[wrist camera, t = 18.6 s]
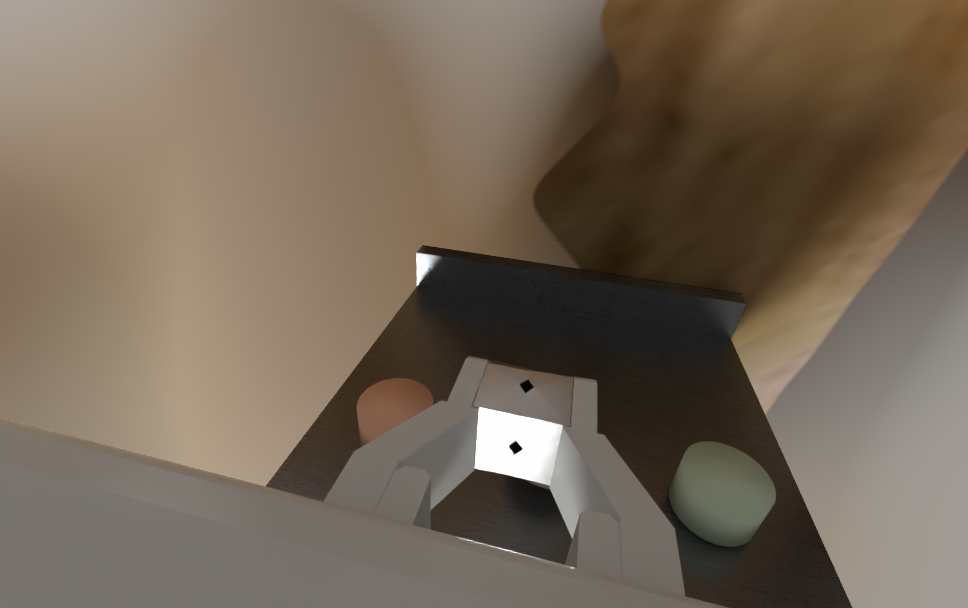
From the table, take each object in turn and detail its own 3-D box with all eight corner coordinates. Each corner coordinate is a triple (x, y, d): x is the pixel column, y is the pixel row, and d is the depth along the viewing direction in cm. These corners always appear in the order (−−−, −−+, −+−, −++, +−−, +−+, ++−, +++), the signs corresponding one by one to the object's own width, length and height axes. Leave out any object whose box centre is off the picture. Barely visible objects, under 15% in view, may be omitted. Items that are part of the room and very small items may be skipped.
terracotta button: (376, 372, 30) (342, 422, 26) (442, 386, 29) (418, 439, 25) (379, 404, 32) (347, 456, 28) (442, 417, 31) (418, 473, 27)
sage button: (677, 434, 27) (691, 501, 23) (760, 450, 26) (789, 524, 22) (664, 465, 29) (674, 534, 25) (742, 482, 28) (766, 556, 24)
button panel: (422, 245, 47) (163, 538, 19) (740, 293, 42) (1026, 791, 14) (424, 336, 53) (230, 657, 25) (700, 387, 48) (841, 861, 20)
